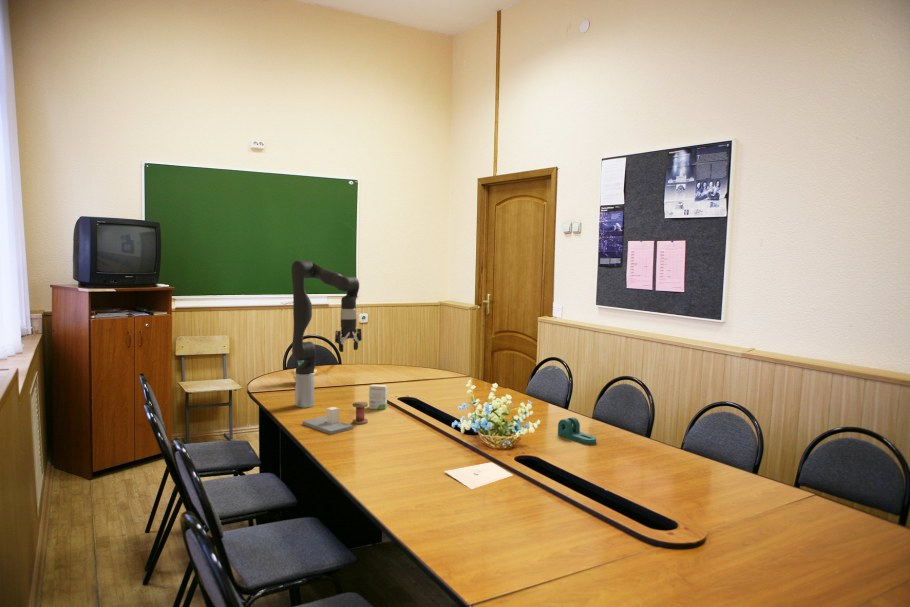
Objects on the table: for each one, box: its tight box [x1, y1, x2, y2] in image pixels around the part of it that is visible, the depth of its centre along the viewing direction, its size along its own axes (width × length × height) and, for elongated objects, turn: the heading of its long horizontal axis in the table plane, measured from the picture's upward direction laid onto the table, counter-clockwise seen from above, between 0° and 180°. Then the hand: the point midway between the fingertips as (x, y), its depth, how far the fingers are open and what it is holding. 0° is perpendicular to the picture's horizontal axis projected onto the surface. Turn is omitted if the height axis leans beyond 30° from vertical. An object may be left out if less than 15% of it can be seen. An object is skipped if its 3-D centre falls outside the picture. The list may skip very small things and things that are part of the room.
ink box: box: [368, 384, 388, 410], centre depth 308 cm, size 9×5×12 cm, turn 84°
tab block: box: [326, 406, 340, 425], centre depth 276 cm, size 4×4×8 cm
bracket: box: [557, 416, 597, 446], centre depth 262 cm, size 18×7×8 cm, turn 37°
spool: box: [352, 401, 369, 425], centre depth 282 cm, size 7×7×9 cm
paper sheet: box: [443, 462, 513, 490], centre depth 213 cm, size 24×29×1 cm
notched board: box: [302, 415, 354, 435], centre depth 274 cm, size 22×12×2 cm, turn 48°
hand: (348, 350), depth 291 cm, fingers open, 8 cm apart
